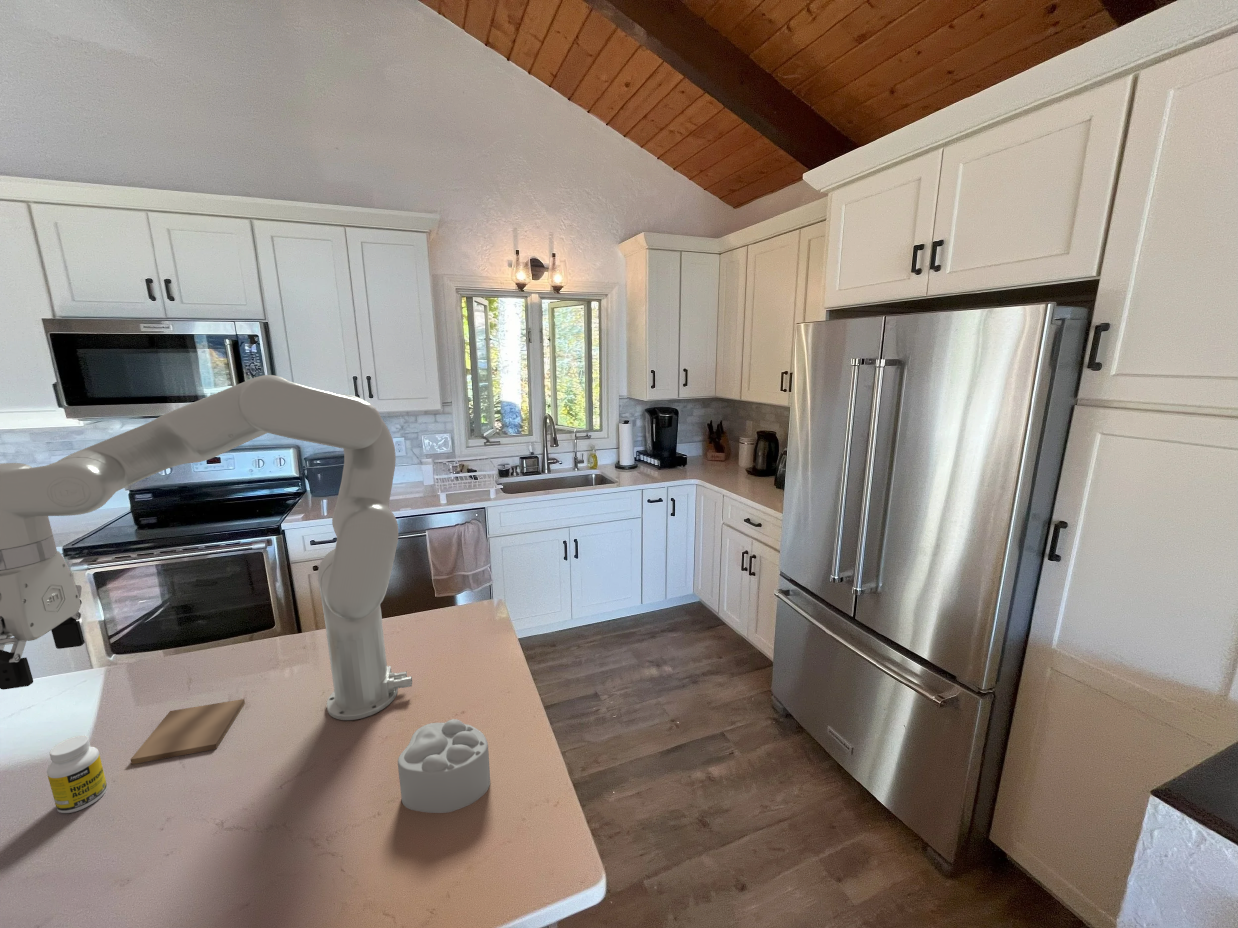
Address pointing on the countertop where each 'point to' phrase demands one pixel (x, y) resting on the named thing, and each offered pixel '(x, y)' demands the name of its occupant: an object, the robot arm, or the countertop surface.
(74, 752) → the supplement bottle
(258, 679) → the countertop surface
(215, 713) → the walnut board
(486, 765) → the lumpy-topped squat cylinder
